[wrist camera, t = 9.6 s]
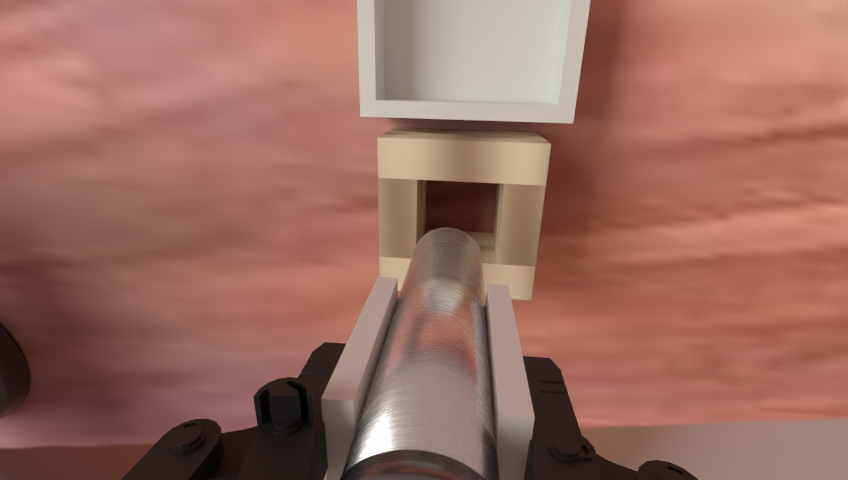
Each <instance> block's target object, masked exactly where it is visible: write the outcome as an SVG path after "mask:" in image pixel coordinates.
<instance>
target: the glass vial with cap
mask: <svg viewBox="0 0 848 480" xmlns="http://www.w3.org/2000/svg"><path fill="white" fill-rule="evenodd" d="M340 480H499V468H498V456H497V448H496V436H495V423H494V410H493V397H492V384H491V372H490V359H489V346H488V333H487V321H486V305H485V293H484V280H483V267H482V256H481V251H480V249H479V246H478V245H477V243H476V241H475V240H474V239H473V238H472V237H471V236H470V235H468V234H467V233H465V232H463V231H461V230H459V229H455V228H449V227H444V228H438V229H434V230H432V231H430V232H428V233H426V234H425V235H424V236H423V237H422V238H421V239H420V240H419V241H418V243H417V244H416V246H415V249H414V252H413V255H412V258H411V261H410V264H409V267H408V270H407V273H406V277H405V280H404V283H403V286H402V289H401V292H400V295H399V298H398V301H397V305H396V308H395V311H394V314H393V317H392V320H391V323H390V326H389V329H388V333H387V336H386V339H385V342H384V345H383V348H382V351H381V354H380V357H379V361H378V364H377V367H376V370H375V373H374V376H373V379H372V382H371V385H370V389H369V392H368V395H367V398H366V401H365V404H364V407H363V410H362V413H361V417H360V420H359V423H358V426H357V429H356V432H355V435H354V438H353V442H352V445H351V448H350V451H349V454H348V457H347V460H346V463H345V466H344V470H343V473H342V476H341V478H340Z"/></svg>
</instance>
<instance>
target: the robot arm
mask: <svg viewBox="0 0 848 480" xmlns="http://www.w3.org/2000/svg"><path fill="white" fill-rule="evenodd" d="M397 301H398V278H388V277H377V279H376V281H375V284H374V286H373V288H372V290H371V292H370V294H369V297H368V299H367V301H366V303H365V305H364V307H363V309H362V312H361V314H360V316H359V318H358V320H357V322H356V325H355V327H354V329H353V331H352V333H351V335H350V337H349V340H348V342H347V344H342V343H329V342H325V343H323V344H322V345H321V346H319V347H318V348H317V349H316V350H314V351H313V352H312V354H311V356H310V358H309V359H308V361H307V364H306V365H305V366H304V368H303V370H302V371H301V374H300V375H299V377H298V378H292V377H288V378H281V379H277V380H274V381H272V382H269V383H267V384H266V385H264V386H263V387H262V388H260V389H259V390H258V391H257V393H256V394H255V396H254V403H255V410H256V417H257V424H258V426H256V427H253V428H249V429H245V430H239V431H233V432H227V433H222V432H221V428H220V426H219V425H218V424H217V423H216V422H214V421H212V420H209V419H195V420H191V421H188V422H184V423H182V424H180V425H178V426H176V427H174V428H172V429H171V430H170V431H169V432H168V433H166V434H165V435H164V436H163V437H162V438H161V439H160V440H159V441H158V442H157V443H156V444H155V445H154V446H153V447H152V448H151V449H150V450H149V451H148V452H147V453H146V454H145V455H144V457H143V458H142V459H141V460H140V461H139V462H138V463H137V464H136V465H135V466H134V467H133V468H132V469H131V470H130V471H129V472H128V473H127V474H126V475H125V476H124V477H123V479H122V480H323V479H324V476H325V474H326V471H327V480H340V478H341V476H342V473H343V470H344V466H345V463H346V460H347V457H348V454H349V451H350V448H351V445H352V442H353V438H354V435H355V432H356V429H357V426H358V423H359V420H360V417H361V413H362V410H363V407H364V404H365V401H366V398H367V395H368V392H369V389H370V385H371V382H372V379H373V376H374V373H375V370H376V367H377V364H378V361H379V357H380V354H381V351H382V348H383V345H384V342H385V339H386V336H387V333H388V329H389V326H390V323H391V320H392V317H393V314H394V311H395V308H396V305H397ZM486 321H487V333H488V346H489V359H490V372H491V384H492V397H493V410H494V423H495V436H496V448H497V456H498V468H499V480H697V478H696V477H694V476H693V475H692V474H690V473H689V472H687V471H686V470H685V469H683V468H681V467H679V466H677V465H674V464H672V463H670V462H665V461H659V460H654V461H646V462H645V463H644V464H642V465H641V466H640V467H639V470H638V472H637V471H634V470H632V469H628V468H626V467H623V466H620V465H617V464H615V463H612V462H610V461H608V460H606V459H604V458H603V457H601V456H599V455H597V454H596V452H595V449H594V447H593V446H592V445H591V444H590V443H589V441H588V440H587V439H586V438H584V437H583V436H582V435H581V432H580V429H579V426H578V423H577V420H576V417H575V414H574V410H573V407H572V404H571V401H570V398H569V395H568V392H567V389H566V386H565V385H564V379H563V376H562V373H561V370H560V369H559V368H558V367H557V365H556V364H555V363H554V362H553V361H552V360H551V359H550V358H539V357H526V356H522V351H521V346H520V341H519V336H518V331H517V326H516V321H515V316H514V311H513V306H512V301H511V296H510V291H509V286H508V285H499V284H487V296H486ZM28 386H29V376H28V370H27V366H26V363H25V361H24V358H23V356H22V354H21V352H20V350H19V348H18V347H17V345H16V344H15V342H14V341H13V339H12V338H11V337H10V336H9V334H8V333H7V332H6V331H5V330H4V329H3V328H2V327H1V326H0V419H1V418H2V417H4V416H5V415H7V414H8V413H9V412H11V411H12V410H14V409H15V408H16V407H18V406H19V405H20V404H21V403H22V402H23V400H24V399H25V397H26V394H27V392H28Z"/></svg>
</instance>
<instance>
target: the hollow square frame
mask: <svg viewBox="0 0 848 480" xmlns="http://www.w3.org/2000/svg"><path fill="white" fill-rule="evenodd" d="M377 143H378V206H379V269H380V277H388V278H398V291H401V289H402V286H403V283H404V280H405V277H406V273H407V270H408V267H409V264H410V261H411V258H412V255H413V252H414V249H415V246H416V244H417V243H418V241H419V240H420V239H421V238H422V237H423V236H424V235H425V234H426V233H428V232H430V231H432V230H434V229H426V194H427V180H436V181H457V182H479V183H497V192H496V204H495V216H494V227H493V233H487V232H469V231H463V232H465V233H467V234H468V235H470V236H471V237H472V238H473V239H474V240H475V241H476V243H477V245H478V246H479V249H480V251H481V256H482V267H483V280H484V293H485V297H486V296H487V284H499V285H508V286H509V291H510V296H511V299H518V300H531V299H532V291H533V283H534V276H535V268H536V260H537V252H538V244H539V236H540V228H541V220H542V212H543V204H544V196H545V189H546V181H547V173H548V165H549V157H550V149H551V144H550V143H549V142H548V141H547V140H545V139H544V138H543V137H542V136H540V135H539V134H538V133H537V132H512V131H483V130H455V129H426V128H397V127H395V128H393V129H391V130H390V131H388V132H386V133H384V134H383V135H381V136H379V137H378V138H377Z"/></svg>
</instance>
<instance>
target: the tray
mask: <svg viewBox="0 0 848 480" xmlns="http://www.w3.org/2000/svg"><path fill="white" fill-rule="evenodd" d="M590 1H591V0H357V17H358V52H359V86H360V117H390V118H421V119H452V120H482V121H513V122H544V123H573V121H574V114H575V107H576V100H577V93H578V86H579V79H580V72H581V65H582V58H583V51H584V44H585V37H586V30H587V23H588V16H589V8H590Z"/></svg>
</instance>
